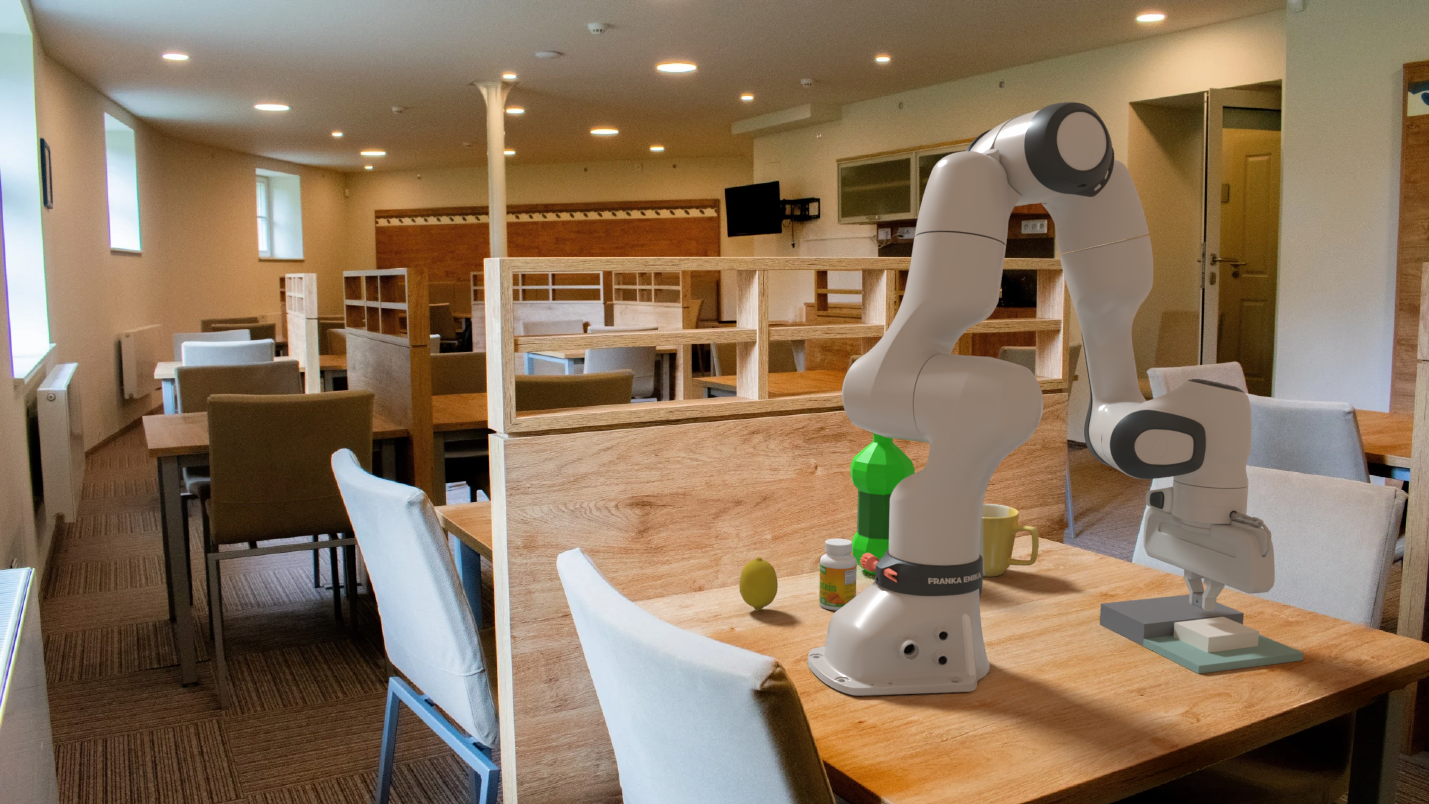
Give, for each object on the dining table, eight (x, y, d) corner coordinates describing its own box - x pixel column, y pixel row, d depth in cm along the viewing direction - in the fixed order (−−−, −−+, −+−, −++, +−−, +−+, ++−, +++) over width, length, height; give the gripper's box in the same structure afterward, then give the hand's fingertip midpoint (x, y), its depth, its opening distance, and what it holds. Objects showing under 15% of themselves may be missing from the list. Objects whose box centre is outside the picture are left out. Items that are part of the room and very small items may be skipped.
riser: (1143, 646, 137) (1144, 624, 136) (1099, 624, 145) (1100, 603, 145) (1242, 634, 141) (1243, 613, 141) (1194, 614, 150) (1195, 593, 149)
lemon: (755, 619, 147) (755, 564, 146) (731, 609, 152) (731, 556, 151) (785, 612, 150) (785, 558, 150) (761, 602, 155) (761, 550, 154)
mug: (940, 570, 172) (941, 508, 170) (977, 560, 178) (979, 500, 177) (1011, 590, 161) (1013, 524, 160) (1048, 578, 168) (1050, 514, 167)
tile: (1207, 652, 131) (1208, 637, 131) (1173, 637, 137) (1174, 622, 137) (1257, 646, 134) (1258, 631, 134) (1222, 631, 140) (1223, 616, 139)
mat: (1198, 673, 127) (1198, 665, 127) (1143, 646, 137) (1143, 638, 137) (1302, 660, 132) (1303, 652, 132) (1242, 634, 141) (1242, 627, 141)
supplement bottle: (811, 605, 154) (812, 541, 153) (835, 597, 157) (837, 535, 156) (838, 614, 150) (840, 548, 149) (863, 606, 153) (864, 542, 152)
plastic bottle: (905, 562, 177) (909, 417, 174) (915, 580, 166) (919, 426, 163) (846, 561, 177) (849, 416, 174) (852, 579, 167) (855, 425, 164)
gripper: (1292, 520, 126) (1284, 630, 127) (1176, 488, 146) (1170, 584, 147) (1249, 523, 124) (1241, 634, 126) (1137, 490, 144) (1132, 587, 145)
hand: (1202, 607), depth 137 cm, fingers closed
